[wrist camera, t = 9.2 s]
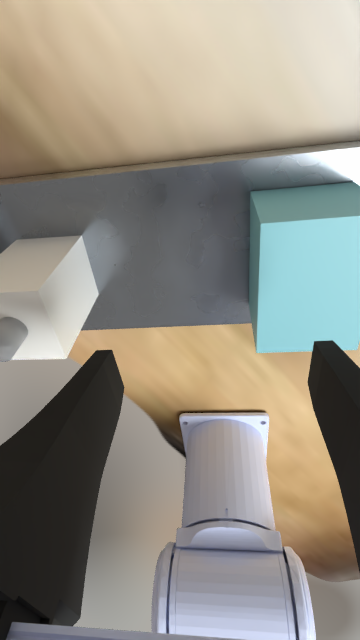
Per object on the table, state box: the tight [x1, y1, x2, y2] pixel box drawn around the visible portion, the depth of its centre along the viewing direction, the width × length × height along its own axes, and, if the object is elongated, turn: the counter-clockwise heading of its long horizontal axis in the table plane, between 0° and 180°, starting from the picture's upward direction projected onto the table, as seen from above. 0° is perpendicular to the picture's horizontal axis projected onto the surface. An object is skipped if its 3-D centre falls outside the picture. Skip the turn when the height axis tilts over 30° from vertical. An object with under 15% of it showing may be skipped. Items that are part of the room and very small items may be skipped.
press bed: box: [0, 141, 360, 330], centre depth 19 cm, size 10×26×4 cm, turn 96°
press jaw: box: [249, 182, 360, 353], centre depth 17 cm, size 7×5×4 cm
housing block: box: [0, 235, 99, 362], centre depth 17 cm, size 4×4×8 cm
